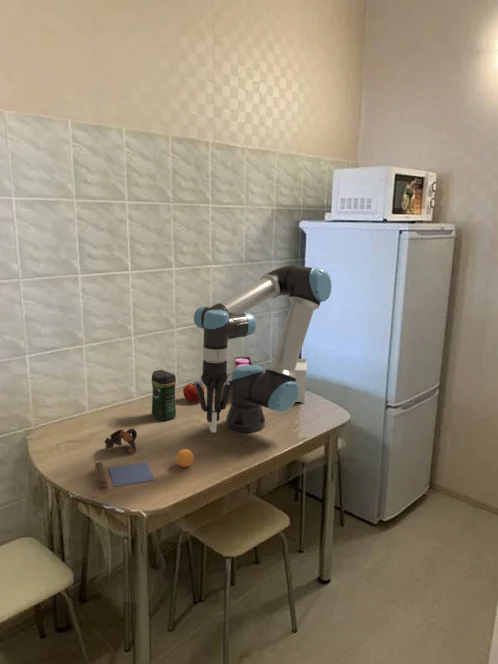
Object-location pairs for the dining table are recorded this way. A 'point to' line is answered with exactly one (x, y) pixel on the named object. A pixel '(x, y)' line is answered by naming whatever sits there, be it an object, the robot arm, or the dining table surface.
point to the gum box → (241, 361)
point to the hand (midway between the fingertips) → (212, 430)
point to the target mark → (130, 474)
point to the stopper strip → (101, 475)
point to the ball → (184, 458)
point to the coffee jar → (163, 395)
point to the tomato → (191, 393)
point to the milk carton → (301, 379)
